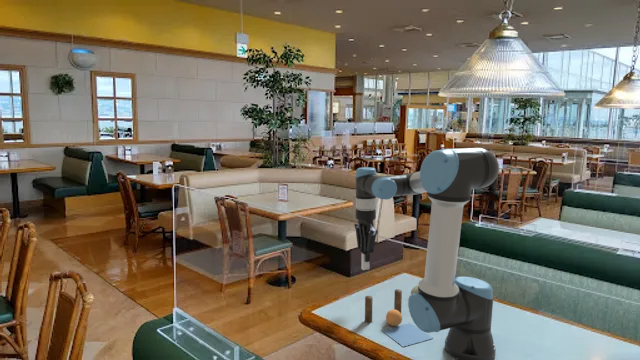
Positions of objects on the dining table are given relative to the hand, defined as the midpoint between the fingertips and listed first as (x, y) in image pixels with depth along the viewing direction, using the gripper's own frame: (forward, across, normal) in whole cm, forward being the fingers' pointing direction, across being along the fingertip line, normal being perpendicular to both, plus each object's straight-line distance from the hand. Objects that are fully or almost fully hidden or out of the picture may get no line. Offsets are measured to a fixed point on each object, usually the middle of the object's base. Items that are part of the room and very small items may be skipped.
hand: (365, 268), depth 174 cm
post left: (+15, -12, +6) cm, 20 cm away
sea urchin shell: (+15, -5, -24) cm, 28 cm away
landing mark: (+15, -26, 0) cm, 30 cm away
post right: (+15, -12, -6) cm, 20 cm away
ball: (+12, -19, 0) cm, 22 cm away
